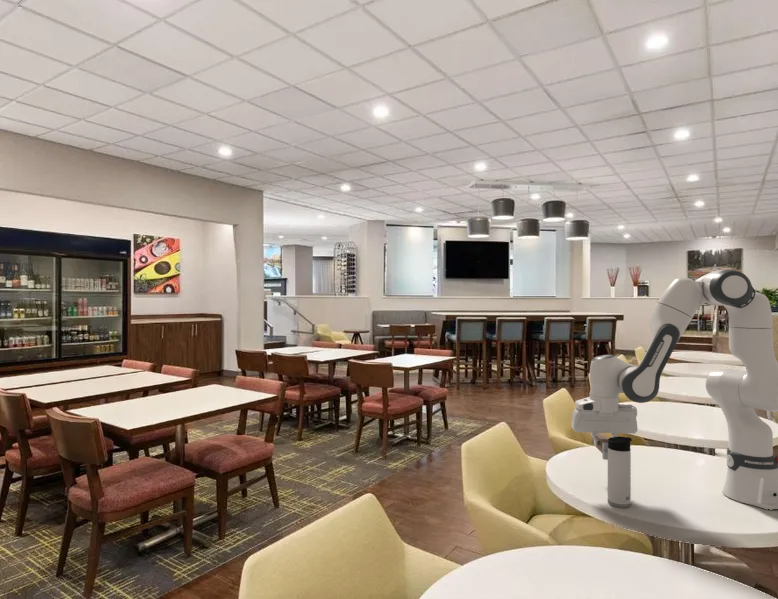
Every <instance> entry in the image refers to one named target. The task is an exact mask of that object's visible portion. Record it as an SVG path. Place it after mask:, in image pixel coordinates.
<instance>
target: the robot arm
mask: <svg viewBox="0 0 778 599" xmlns="http://www.w3.org/2000/svg"><path fill="white" fill-rule="evenodd" d="M702 305H706V306H707V305H708V306H720V307H721V306H723V307H724V308H725V309H726V311H727V314H728V350H729V352H730V354H731V355H732V356H733V357H735V358H737V359H739V361H741V362H742V364H743V365H744V367H745V370H739V369H715V370H712V371H711V372H710V373H709V374H708V376H707V377H706V379H705V390H706V392H707V394H708V395H709V397H711V398H712V399H713V400H714V401H715V402H716V404H718V407H720V409H721V411H722V413H723V415H724V417H725V419H726V420H725V421H726V424H727V431H728V432H727V434H728V435H727V436H728V437H727V438H728V447H727V448H726V466H727V471H726V478H725V481H724V486H723V488H722V491H721V492H722V494H723V495H724V496H725V497H727V498H729V499H732V500H734V501H736V502H739V503H744V504H747V505H751V506H755V507H758V508H761V509H764V510H768V509H769V511H774V510H773V509H778V456H777V455H776V454H774V449H773V447H774V446H773V445H774V444H773V443H774V442H773V441H774V438H773V436H774V435H773V434H774V432H773V431H772V428H771V426H770V425H769V424H768V423H767V422H765V421H763V420H762V418H760V417H759V416H758V414H757V413H756V410H761V411H762V410H763V411H766V412H774V413H776V412H777V413H778V360H777V358H776V354H775V350H774V349H775V348H774V332H773V331H774V326H773V322H774V320H773V313H772V307H771V304H770V300H769V298H768V297H767V296H766V295H765V294H763V293H760V292H757V291H756V290H755V288H754V287H753V284H752V282H751V280H750V278H749V277H748V276H747V275H746V274H745V273H743V272H742V271H739V270H735V269H720V270H719V269H718V270H714V271H711V272H707V273H704V274H702V275H699V276H698V277H696V278H694V279H692V278H688V277H679V278H675V279H674V280H673V281H672V282H671V283H670V284H669V285H668V286H667V288H665V289H664V291H663V293H662V294H661V296H660V297H659V298H658V300H657V301H656V303H655V305H654V307H653V308H652V311H651V313H650V315H649V320H648V326H649V328H650V331H651V340H650V344H649V345H648V348H647V349H646V351H645V353H644V355H643V357H642V359H641V361H640V363H639V364H638V365H634V364H631V363H628V362H626V361H624V360H622V359H620V358H619V357H617V356H616V355H615V354H614V355H613V354H603V355H598V356H595V357H593V359H591V361H590V367H589V384H590V390H589V396H587V397H584V398H581V399H577V400H575V402H574V406H575V408H574V410H572V413H571V414H572V415H571V428H572V429H573V431H574V432H575V433H590V436H591V438H592V437H593V439H594V444H593V445H594V447H595V446H600V440H599V439H596V437H595V436H596V435H597V433H603V434H611V435H612V436H611V437H619V434H633V435H634V434H636V433H637V432H638V431H639V430H638V429H639V428H638V421H637V417H638V410H637V408H636V406H634V405H632V404H622V403H621V404H620V403H619V402H620V401H619V400H620V399H619V394H624V395H625V396H626V398H627V399H628V400H630V401H632V402H634V403H639V404H644V403H649V402H650V401H652V400H654V399H655V398H656V397H657V395H658V394H659V390H660V381H661V380H660V379H661V377H662V376H661V375H662V373H663V371H664V369H665V366H666V365H667V364H668V361H669V359H670V357H671V356H672V354H673V351H674V350H675V348H676V345H677V343H678V342H679V340H680V338H681V336H682V335H683V333H684V332H685V331H686V329H687V328H688V326H689V325H690V323H691V321H692V319H693V318H694V316H695V314H696V312H697V310H699V308H700V307H701V306H702ZM755 409H756V410H755Z"/></svg>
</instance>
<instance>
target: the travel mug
mask: <svg viewBox="0 0 778 599" xmlns="http://www.w3.org/2000/svg"><path fill="white" fill-rule="evenodd" d="M608 438H609V439H608V460H607V503H608V504H609V505H611V506H612V507H615V508H619V509H620V508H621V509H627V508H630V506H631V504H632V503H631V501H632V500H631V495H632V494H631V493H632V492H631V490H632V487H631V486H632V485H631V482H632V480H631V479H632V478H631V474H632V473H631V471H632V468H631V466H632V465H631V462H632V461H631V458H632V456H631V450H632V449H631V442H633V438H631V437H630V436H628V437H626V436H618V437H612V436H611V437H608Z"/></svg>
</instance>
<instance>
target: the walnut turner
mask: <svg viewBox="0 0 778 599" xmlns="http://www.w3.org/2000/svg"><path fill="white" fill-rule="evenodd" d="M595 437H596V439H599V440H600V446H595V445H594V439H593V437H592V436H591V443H592V445H594V447H596V448H597V450H598V451H599V452H600V453H601V454H602V457H601V458H602V459H603V460H606V461H608V439H609V438H610V437H608V436H606V434H605V433H597V435H596V436H595Z"/></svg>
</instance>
